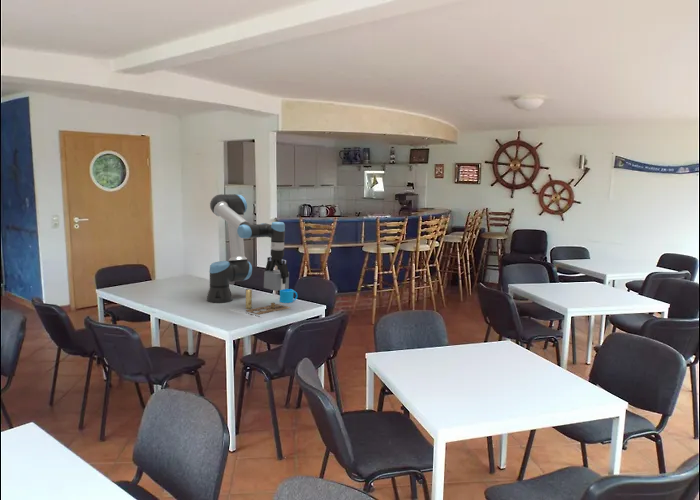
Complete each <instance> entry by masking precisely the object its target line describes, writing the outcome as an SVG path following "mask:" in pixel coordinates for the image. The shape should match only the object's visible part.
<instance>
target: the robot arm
mask: <svg viewBox="0 0 700 500" xmlns="http://www.w3.org/2000/svg"><path fill="white" fill-rule="evenodd" d="M209 208H210V211H211V212H212V213H213V214H214V215H215V216H217V217H220V218H222V219H223V220H224V221H226V223H227V225H228V239H229V240H228V241H229V250H230V251H229V253H230V258H229V259H228V261H227V260H222V261H215V262H212V263H211V264H210V265H209V271H208V272H209V289H208V292H207V295H206V302H210V303H219V304H220V303H221V304H222V303H230V302H232V300H233V295H232V291H231V287H230V283H232V282H233V283H234V282H244V281H246V280H248V279H250V278H251V276H252V273H253V266H252V263H251V262H250V261H249V259H248V258H247V257H246V253H245V242H244V239H251V238H252V239H253V238H255V239H256V238H270V256H269V257H267V262H266V266H265V270H264V271H272V270H275V267H277V268H278V270H280V273H281V276H282V278H281V290H283V289H285V284H286V278H287V277H289V278H290V273H289V274H288V272H289V268H288V260H287V259H284V258H283V257H284V256H285V235H286V229H285V228H286V224H285V223H284V222H283V221H273V222H271V223H270V224H269V223H267V222H265V223H260V224H259V223H258V224H257V223H254V224H252V223H250V222H249V221H247V220H246V219H245V218H244V216H245V214H244V213H246V212H247V209H248V203H247V201H246V198H245V197H244V196H243V195H241V194H234V193H233V194H226V193H225V194H223V193H221V194H216V195H215V196H213V197H212V198H211V201H210V202H209Z"/></svg>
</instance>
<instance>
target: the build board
mask: <svg viewBox="0 0 700 500" xmlns="http://www.w3.org/2000/svg"><path fill="white" fill-rule="evenodd" d="M262 307H263V306H260V307H256V308H252V309H245V312H246V313H248V314H247V315H252V316H254V315H255V317H258V318H260V315H264V314H268V313H273V312H275V311H274V310H270V309H266V308H262Z"/></svg>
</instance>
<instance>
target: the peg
mask: <svg viewBox="0 0 700 500" xmlns="http://www.w3.org/2000/svg"><path fill="white" fill-rule="evenodd" d="M252 298H253V290H252V288H247V289H245V310H250V309H253V307H252V305H253V304H252V303H253V301H252V300H253V299H252Z"/></svg>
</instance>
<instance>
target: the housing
mask: <svg viewBox="0 0 700 500" xmlns="http://www.w3.org/2000/svg"><path fill="white" fill-rule="evenodd" d="M263 274H264V275H263V288H264V289H267V290H271V291H275V292H276V291H280V290H281V278H282V276H281V273H280V270H279V268H278V269H273V270H272V271H268V270H267V271H265V270H264V273H263ZM288 274H289V275H290V271H288ZM289 284H290V276H289V277H287V278H286V284H285V289H290V285H289Z"/></svg>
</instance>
